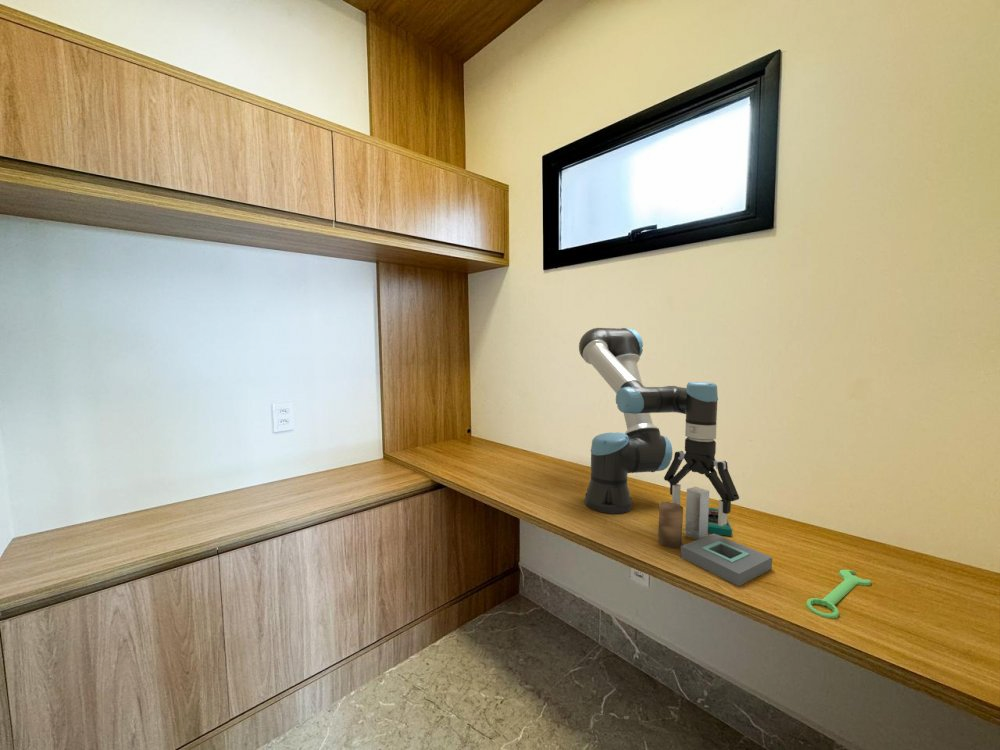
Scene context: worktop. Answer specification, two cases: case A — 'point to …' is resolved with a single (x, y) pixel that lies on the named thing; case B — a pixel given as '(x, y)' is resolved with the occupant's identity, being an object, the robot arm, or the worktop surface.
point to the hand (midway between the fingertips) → (697, 515)
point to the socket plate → (726, 558)
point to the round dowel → (670, 525)
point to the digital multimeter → (714, 526)
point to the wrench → (837, 593)
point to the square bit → (697, 513)
